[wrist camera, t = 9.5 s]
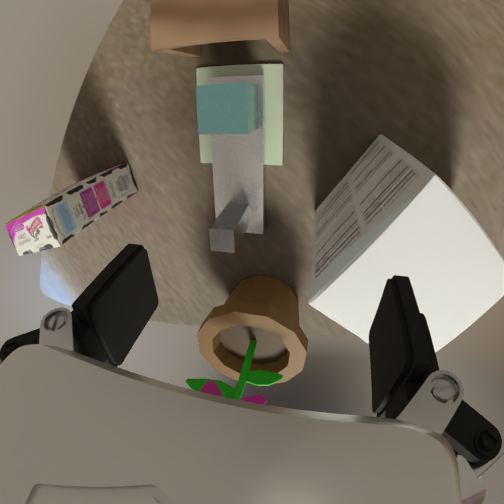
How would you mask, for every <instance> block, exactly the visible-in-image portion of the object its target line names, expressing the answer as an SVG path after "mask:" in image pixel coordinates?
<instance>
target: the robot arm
mask: <svg viewBox="0 0 504 504" xmlns="http://www.w3.org/2000/svg"><path fill="white" fill-rule="evenodd" d="M157 306H158V296H157V292H156V288H155V284H154V280H153V275H152V271H151V267H150V262H149V258H148V253H147V250H146V249H144V247H143V246H142V245H137V244H128V245H127V246H126V247H125V248H124V249H123V250H122V251H121V252H120V253H119V254H118V255H117V256H116V257H115V258H114V259H113V260H112V261H111V262H110V263H109V264H108V265H107V266H106V267H105V269H104V270H103V271H102V272H101V273H100V274H99V275H98V276H97V277H96V278H95V279H94V280H93V281H92V283H91V284H90V285H89V286H88V287H87V288H86V289H85V290H84V291H83V293H82V294H81V295H80V296H79V297H78V298H77V299H76V300H75V302H74V303H73V304H72V307H73V311H72V312H70V311H69V310H68V309H66V308H57V309H54V310H51V311H50V312H48V313H47V314H46V315H45V316H44V317H43V319H42V320H41V325H40V328H39V329H36V330H33V331H31V332H28V333H25V334H22V335H19V336H16V337H13V338H11V339H9V340H7V341H6V342H5V343H4V345H3V346H2V348H1V350H0V504H504V453H503V454H502V452H501V450H500V449H501V444H502V440H501V435H500V433H499V431H498V429H497V428H496V427H495V426H494V425H492V424H491V423H490V422H489V421H488V420H486V419H485V418H484V417H483V416H482V415H480V414H479V413H478V412H477V411H475V410H474V409H473V408H472V407H470V406H469V405H468V404H467V403H466V402H464V401H463V400H462V398H463V395H464V389H463V385H462V383H461V381H460V380H459V378H458V377H457V376H456V375H454V374H453V373H451V372H449V371H445V370H439V367H438V363H437V359H436V354H435V350H434V346H433V342H432V338H431V335H430V331H429V327H428V324H427V320H426V317H425V315H424V314H423V313H420V311H419V308H418V305H417V301H416V298H415V295H414V292H413V288H412V285H411V282H410V279H409V277H407V276H398V275H394V276H393V277H392V279H388V280H387V282H386V285H385V288H384V291H383V294H382V297H381V300H380V303H379V306H378V309H377V312H376V314H375V317H374V320H373V323H372V325H371V328H370V331H369V348H370V362H371V379H372V381H371V382H372V410H373V412H374V413H377V417H368V416H355V415H343V414H332V413H322V412H313V411H304V410H295V409H288V408H281V407H275V406H268V405H262V404H257V403H251V402H246V401H240V400H235V399H230V398H225V397H221V396H216V395H212V394H207V393H203V392H199V391H195V390H191V389H187V388H183V387H179V386H175V385H172V384H168V383H165V382H161V381H158V380H155V379H151V378H148V377H145V376H142V375H139V374H135V373H132V372H129V371H126V370H123V369H120V368H117V366H118V365H121V364H122V362H123V361H124V359H125V357H126V356H127V354H128V353H129V351H130V349H131V348H132V346H133V344H134V343H135V341H136V340H137V338H138V336H139V335H140V333H141V332H142V330H143V328H144V327H145V325H146V324H147V322H148V321H149V319H150V318H151V316H152V314H153V313H154V311H155V310H156V308H157Z"/></svg>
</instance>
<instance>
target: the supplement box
mask: <svg viewBox="0 0 504 504" xmlns="http://www.w3.org/2000/svg"><path fill="white" fill-rule="evenodd" d="M394 275H398V276H407V277H409V279H410V282H411V285H412V288H413V292H414V295H415V298H416V301H417V305H418V308H419V311H420V313H423V314H424V315H425V317H426V320H427V324H428V327H429V331H430V335H431V338H432V342H433V346H434V350H435V352H437V351H438V350H439V349H441V348H442V347H443V346H445V345H446V344H447V343H449V342H450V341H451V340H453V339H454V338H455V337H456V336H458V335H459V334H460V333H461V332H463V331H464V330H465V329H466V328H468V327H469V326H470V325H471V324H472V323H473V322H475V321H476V320H477V319H478V318H479V317H480V316H482V315H483V314H484V313H485V312H486V311H487V310H488V309H489V308H491V306H492V305H494V304H495V303H496V302H497V301H498V300H499V299H500V298H501V297H502V296H503V295H504V258H503V257H502V255H501V254H500V252H499V251H498V249H497V248H496V246H495V245H494V243H493V242H492V240H491V239H490V238H489V236H488V235H487V233H486V232H485V231H484V229H483V228H482V227H481V225H480V224H479V223H478V221H477V220H476V219H475V217H474V216H473V215H472V214H471V212H470V211H469V210H468V209H467V208H466V206H465V205H464V204H463V203H462V202H461V200H460V199H459V198H458V197H457V196H456V195H455V194H454V192H453V191H452V190H451V189H450V188H449V187H448V186H447V185H446V184H445V183H444V182H443V181H442V180H441V179H440V178H439V177H438V176H437V175H436V174H435V173H434V172H432V171H431V170H430V169H429V168H427V167H426V166H425V165H423V164H422V163H421V162H419V161H418V160H417V159H415V158H414V157H413V156H411V155H410V154H409V153H408V152H406V151H405V150H403V149H402V148H400V147H399V146H398V145H396V144H395V143H393V142H392V141H391V140H389V139H388V138H387V137H385V136H384V135H382V134H380V135H379V136H378V137H377V138H376V139H375V141H374V142H373V143H372V144H371V145H370V147H369V148H368V149H367V150H366V151H365V153H364V154H363V155H362V156H361V157H360V158H359V160H358V161H357V162H356V163H355V164H354V166H353V167H352V168H351V169H350V170H349V172H348V173H347V174H346V175H345V176H344V177H343V179H342V180H341V181H340V182H339V183H338V184H337V186H336V187H335V188H334V189H333V190H332V192H331V193H330V194H329V195H328V196H327V197H326V199H325V200H324V201H323V202H322V203H321V205H320V206H319V207H318V208H317V209H316V211H315V225H314V244H313V258H312V272H311V283H310V291H309V299H308V303H309V304H310V305H311V306H312V307H314V308H315V309H317V310H318V311H320V312H321V313H323V314H325V315H326V316H328V317H329V318H331V319H332V320H334V321H335V322H337V323H338V324H340V325H342V326H343V327H345V328H346V329H348V330H349V331H351V332H352V333H354V334H355V335H357V336H359V337H360V338H361V339H363V340H364V341H365V342H366V343H368V344H369V331H370V328H371V325H372V323H373V320H374V317H375V314H376V312H377V309H378V306H379V303H380V300H381V297H382V294H383V291H384V288H385V285H386V282H387V280H388V279H392V277H393V276H394Z"/></svg>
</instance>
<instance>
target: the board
mask: <svg viewBox="0 0 504 504" xmlns="http://www.w3.org/2000/svg"><path fill="white" fill-rule="evenodd" d="M196 73H197V86H199V85H209V78H213V77H228V76H253V75H263V76H264V115H265V165H283V64H246V65H227V66H214V67H203V68H196ZM199 141H200V157H201V163H212V148H211V134H206V135H199Z"/></svg>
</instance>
